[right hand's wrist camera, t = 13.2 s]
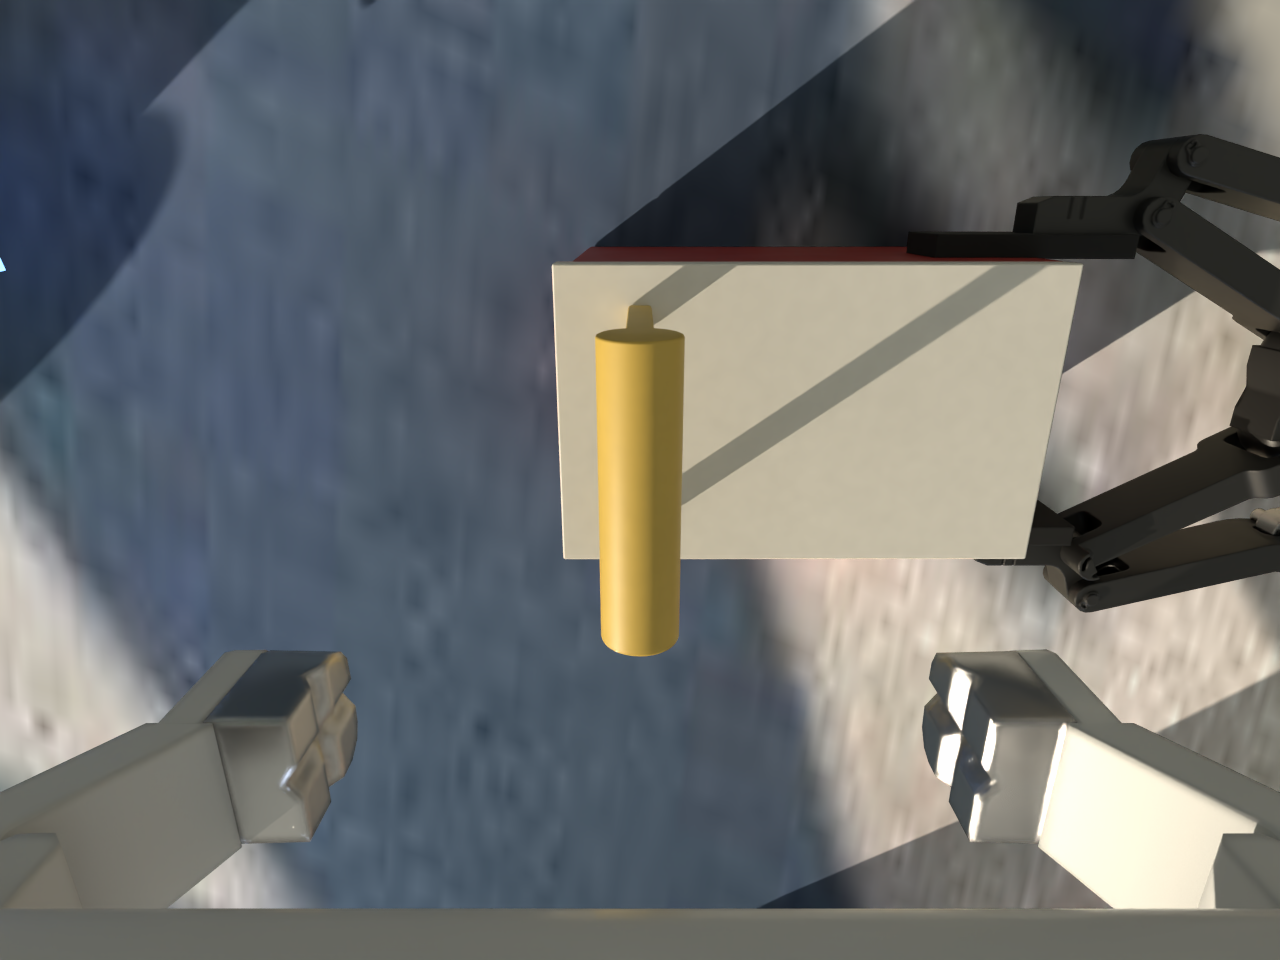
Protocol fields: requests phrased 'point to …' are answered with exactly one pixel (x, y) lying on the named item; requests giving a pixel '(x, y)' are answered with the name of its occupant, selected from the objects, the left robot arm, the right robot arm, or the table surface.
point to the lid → (798, 416)
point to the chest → (771, 255)
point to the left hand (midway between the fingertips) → (902, 392)
